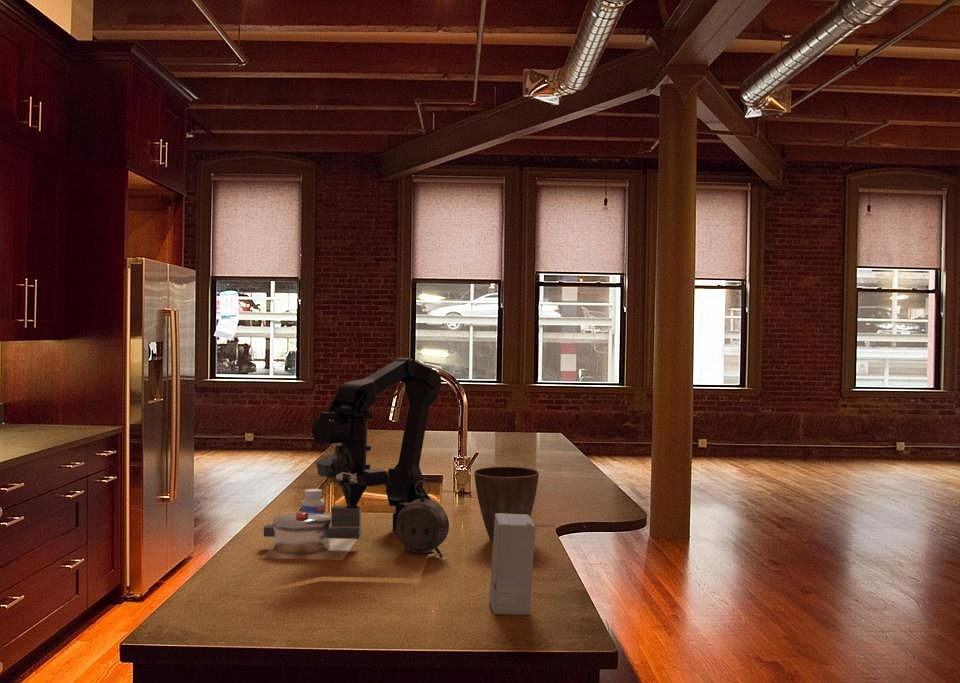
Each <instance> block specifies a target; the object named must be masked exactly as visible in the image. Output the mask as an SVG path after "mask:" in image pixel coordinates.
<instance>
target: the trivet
mask: <svg viewBox="0 0 960 683" xmlns="http://www.w3.org/2000/svg"><path fill="white" fill-rule="evenodd" d="M357 540H358V539H355V538H330V549H328V550H327V551H324V552H321V553H316V554H308V555H288V554H281V553H278V552H275V551H274V550H273V546H272V547H271V548H269V550H267V552H265V553H264V554H263V555H262V556H261V557H260V559H280V560H281V559H282V560H283V559H285V560H286V559H287V560H289V559H290V560H324V561H325V560H330V561H331V560H334V561H335V560H336V561H342V560H344V558H346V556H347V555H348V553H349V552H350V550H351V549H352V547H353V546H354V545H355V544H356V542H357Z"/></svg>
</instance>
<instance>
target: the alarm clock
mask: <svg viewBox="0 0 960 683" xmlns="http://www.w3.org/2000/svg"><path fill="white" fill-rule="evenodd" d="M420 482H423V484H424V483H425V484H426V485H427V486H428V491H427V492H426V493H427V494H428V495H429V493H430V491H431V490H430V489H431V486H430V484H429V483H428V482H427V481H425V480H423V481H419V482H417V483H416V485H415V491H416V493H417V494H418V492H417V490H416V486H417V484H418V483H420ZM427 494H423V493H422V494H418V495H420V496H421V498H420V499H417V500H414V501H412V502H411V503H409V504H408V505H407V506H405V507H404V508H403V509H402V510H401V511H400V513H399V514H398V516H397V519H396V531H395V533H396V536H397V538H398V541H399V542H400V543H401V544H402V546H404V549H403V551H408V550H409V551H411V552H413V553H415V556H420V554H426V553H430V552H432V551H435V552H436V553H437V554H438V555H439V557H440V558H443V554H442V553H441V550H440V548H439V546H441V545H443V543H444V541H445V540H446V539H447V537H448V534H449V530H450V522H449V517H448V515H447V513H446V511H445V510H444V508H443V507H442V506H441V505H440V504H439V503H438V502H436V501H434V500H432V499H430V500H429V499H424V496H426V495H427Z"/></svg>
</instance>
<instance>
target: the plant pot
mask: <svg viewBox="0 0 960 683" xmlns="http://www.w3.org/2000/svg"><path fill="white" fill-rule="evenodd" d="M473 475H474V476H473V477H474V481H475V488H476V494H477V495H476V496H477V500H478V505H479V508H480V509H479V510H480V514H481V518H482V520H483V523H484V527H485V529H486V532H487V536H488V537H489V540H490V542H491V543H493V537H494V523H495V514H496V513H507V514H525V515H529V516H530V517H531V516H532V513H533V509H534V504H535V500H536V495H537V488H538V482H539V476H540V471H538V470H536V469H532V468H527V467H520V466H519V467H517V466H495V467H494V466H492V467H491V466H490V467H481V468H478V469H475V470H474V471H473Z"/></svg>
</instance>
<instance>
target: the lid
mask: <svg viewBox="0 0 960 683" xmlns="http://www.w3.org/2000/svg"><path fill="white" fill-rule="evenodd" d="M361 522H362V506H361V505H357V506H347V505H332V506H331V516H330V515H327V514H325V513H324V514H316V513H307V512H301V511H299V512H296V513H288V514H283V515H282V514H281V515H278V516H274V518H272V525H273V526H274V527H277V528H281V529H288V530H309V529H317V528H323V527H326V526H329V525H330V526H337V527H361V524H362V523H361Z"/></svg>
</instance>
